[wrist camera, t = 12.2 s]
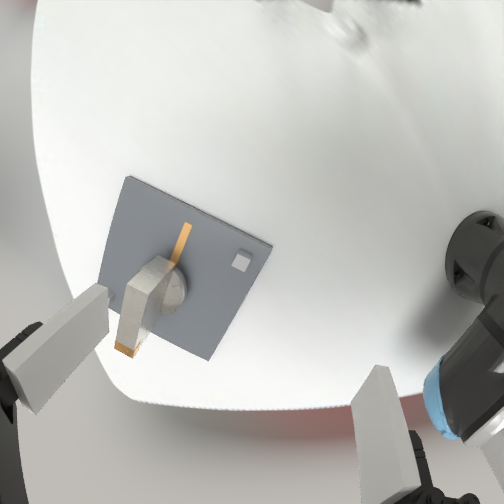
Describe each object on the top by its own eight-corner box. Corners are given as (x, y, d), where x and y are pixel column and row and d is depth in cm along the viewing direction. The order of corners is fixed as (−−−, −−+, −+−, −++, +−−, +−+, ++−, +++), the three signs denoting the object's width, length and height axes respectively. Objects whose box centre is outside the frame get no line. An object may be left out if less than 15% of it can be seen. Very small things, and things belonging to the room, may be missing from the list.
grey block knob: (148, 242, 40) (108, 273, 30) (197, 265, 40) (169, 305, 30) (132, 300, 44) (98, 339, 34) (176, 322, 44) (149, 367, 34)
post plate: (272, 246, 42) (270, 254, 39) (209, 356, 50) (205, 368, 47) (129, 175, 40) (118, 178, 37) (97, 295, 49) (88, 304, 46)
